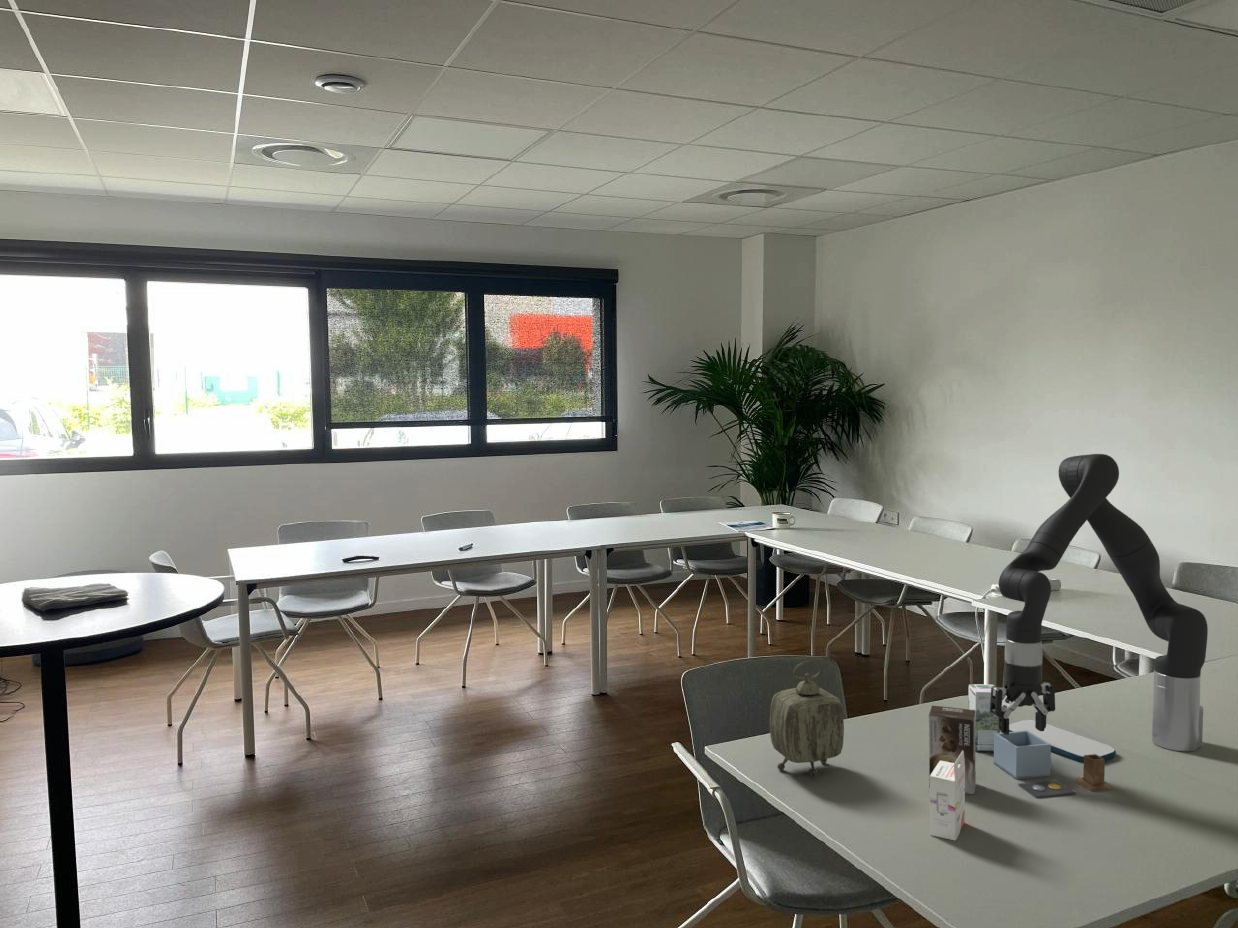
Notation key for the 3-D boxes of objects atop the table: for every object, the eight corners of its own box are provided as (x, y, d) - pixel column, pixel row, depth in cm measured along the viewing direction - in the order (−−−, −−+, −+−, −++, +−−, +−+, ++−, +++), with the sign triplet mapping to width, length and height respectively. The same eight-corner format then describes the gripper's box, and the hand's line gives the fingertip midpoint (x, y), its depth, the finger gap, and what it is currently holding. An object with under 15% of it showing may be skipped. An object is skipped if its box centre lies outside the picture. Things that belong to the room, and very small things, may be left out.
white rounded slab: (1121, 757, 202) (1122, 749, 202) (1090, 768, 196) (1090, 760, 196) (1030, 725, 223) (1030, 717, 222) (999, 734, 217) (999, 726, 217)
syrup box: (992, 742, 211) (992, 683, 210) (1000, 752, 205) (1001, 691, 204) (967, 742, 212) (968, 682, 210) (974, 752, 206) (975, 691, 205)
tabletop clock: (826, 759, 203) (826, 652, 201) (848, 775, 195) (848, 663, 193) (769, 768, 199) (769, 659, 197) (789, 785, 190) (788, 671, 188)
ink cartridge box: (938, 816, 175) (939, 744, 174) (965, 822, 172) (966, 749, 171) (928, 835, 168) (929, 759, 167) (956, 841, 165) (956, 765, 164)
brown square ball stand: (1095, 778, 190) (1096, 751, 190) (1112, 788, 186) (1113, 760, 185) (1075, 780, 190) (1075, 753, 189) (1091, 790, 185) (1091, 763, 184)
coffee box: (976, 782, 190) (976, 709, 188) (974, 795, 184) (975, 719, 182) (931, 776, 193) (931, 704, 192) (928, 788, 188) (928, 713, 186)
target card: (1056, 781, 189) (1056, 778, 189) (1075, 793, 183) (1075, 791, 183) (1018, 785, 188) (1018, 782, 188) (1036, 797, 182) (1036, 795, 182)
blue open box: (1026, 760, 200) (1027, 730, 200) (1050, 775, 192) (1050, 744, 192) (993, 763, 199) (994, 733, 198) (1016, 779, 191) (1016, 747, 190)
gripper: (1041, 652, 199) (1040, 722, 200) (983, 656, 196) (982, 728, 198) (1063, 662, 191) (1062, 735, 193) (1003, 667, 189) (1002, 740, 190)
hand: (1022, 731), depth 195 cm, fingers open, 8 cm apart
